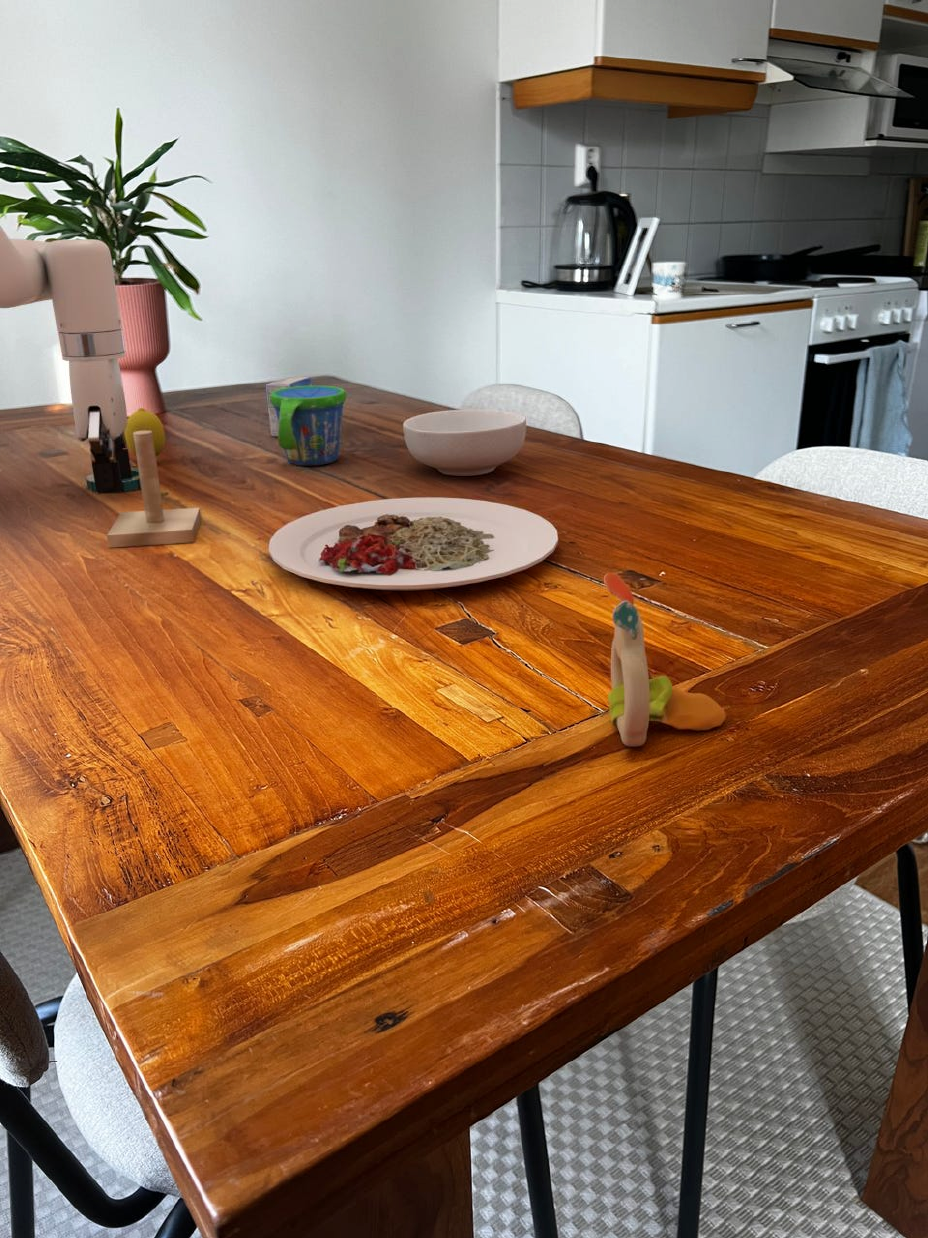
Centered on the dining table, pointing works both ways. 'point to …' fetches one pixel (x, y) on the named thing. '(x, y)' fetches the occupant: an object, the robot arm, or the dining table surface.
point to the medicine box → (276, 386)
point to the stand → (152, 508)
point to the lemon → (145, 429)
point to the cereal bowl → (465, 439)
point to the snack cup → (309, 423)
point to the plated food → (413, 543)
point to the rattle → (647, 681)
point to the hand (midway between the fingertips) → (114, 484)
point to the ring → (127, 483)
